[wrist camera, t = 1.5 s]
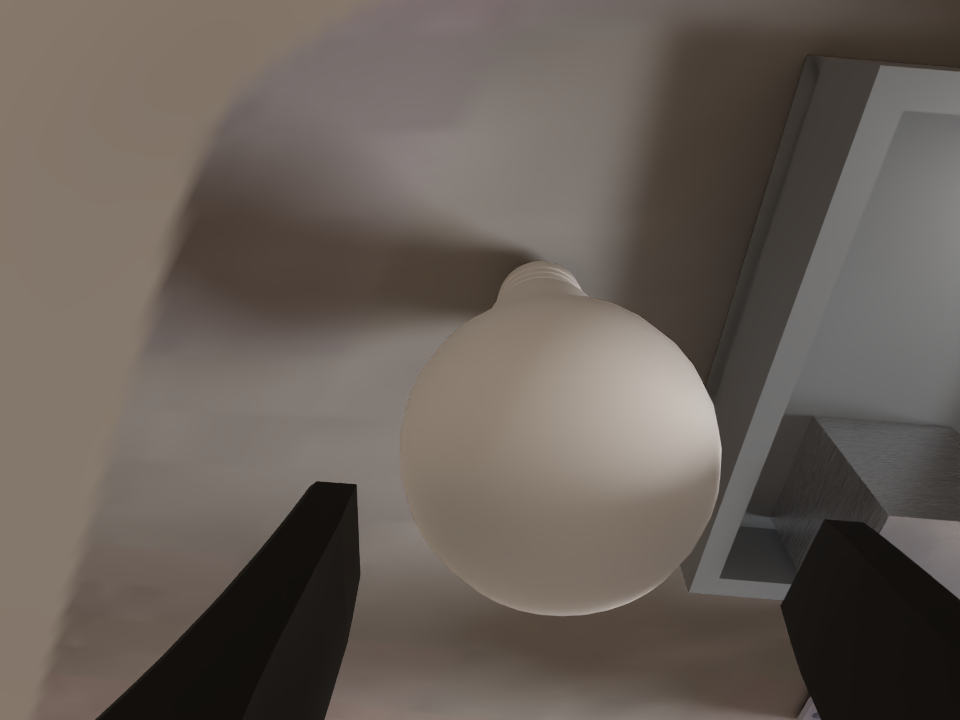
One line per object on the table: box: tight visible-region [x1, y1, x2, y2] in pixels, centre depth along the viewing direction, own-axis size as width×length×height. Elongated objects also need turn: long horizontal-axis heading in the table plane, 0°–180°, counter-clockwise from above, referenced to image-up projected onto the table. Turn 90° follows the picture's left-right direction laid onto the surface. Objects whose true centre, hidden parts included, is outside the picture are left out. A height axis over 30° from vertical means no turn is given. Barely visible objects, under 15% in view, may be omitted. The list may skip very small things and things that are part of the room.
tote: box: [680, 55, 960, 601], centre depth 18 cm, size 16×11×4 cm
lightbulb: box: [400, 261, 722, 616], centre depth 14 cm, size 6×6×11 cm
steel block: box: [770, 415, 960, 599], centre depth 19 cm, size 4×4×4 cm
